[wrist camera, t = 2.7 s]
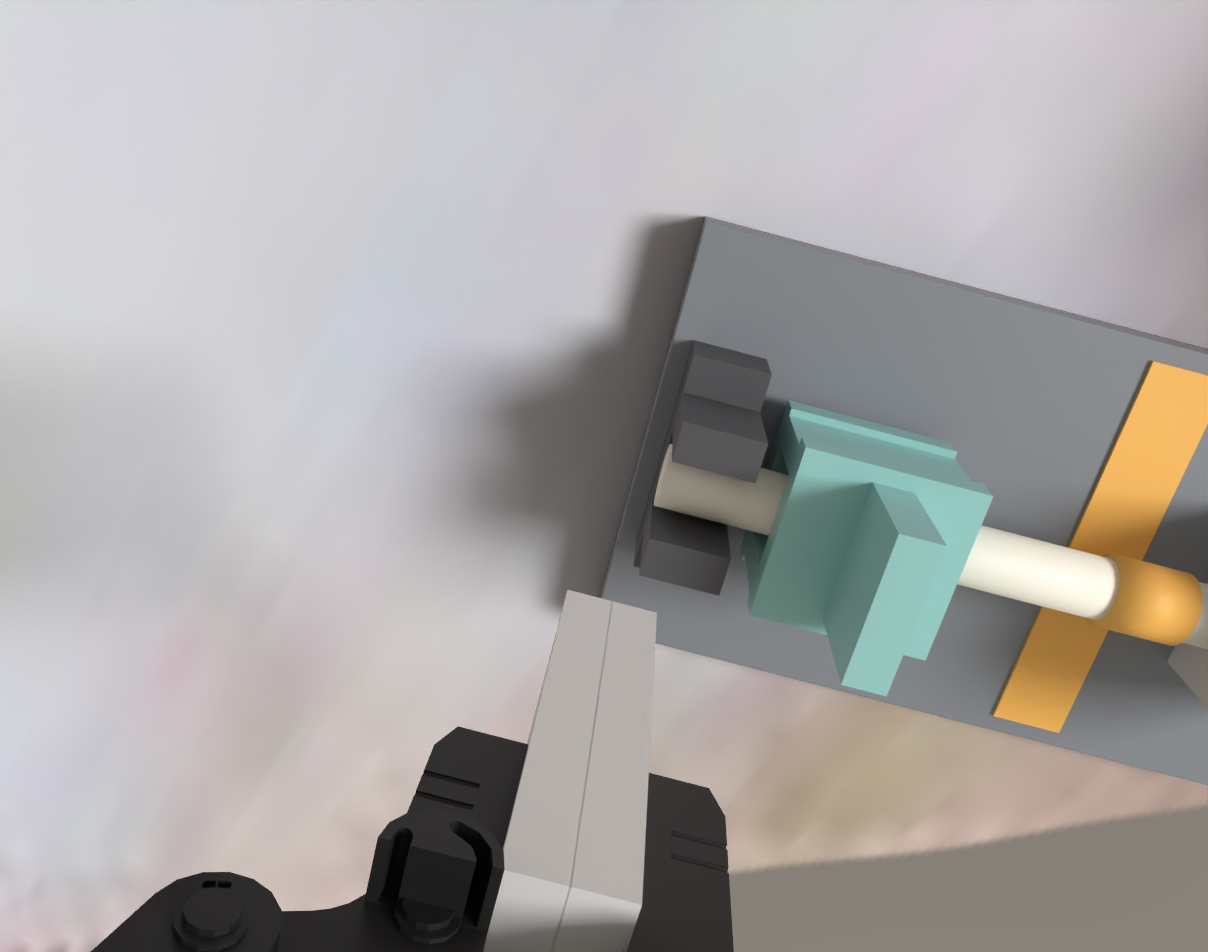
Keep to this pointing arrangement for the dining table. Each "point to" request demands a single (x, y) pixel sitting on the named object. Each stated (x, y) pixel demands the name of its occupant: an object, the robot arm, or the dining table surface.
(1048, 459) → the cable board
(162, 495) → the dining table surface
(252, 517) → the dining table surface
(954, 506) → the sleeve
